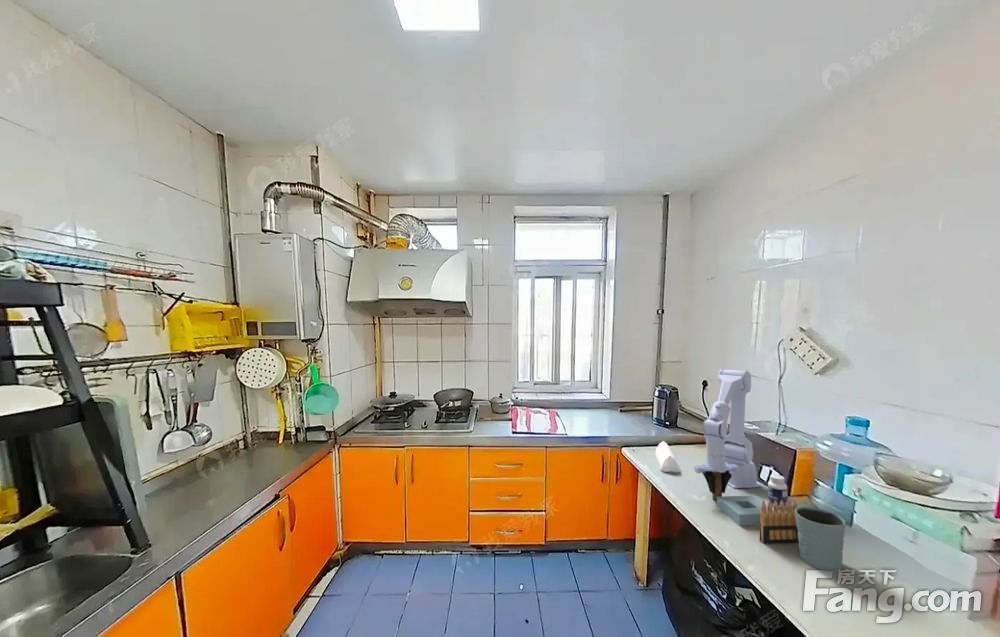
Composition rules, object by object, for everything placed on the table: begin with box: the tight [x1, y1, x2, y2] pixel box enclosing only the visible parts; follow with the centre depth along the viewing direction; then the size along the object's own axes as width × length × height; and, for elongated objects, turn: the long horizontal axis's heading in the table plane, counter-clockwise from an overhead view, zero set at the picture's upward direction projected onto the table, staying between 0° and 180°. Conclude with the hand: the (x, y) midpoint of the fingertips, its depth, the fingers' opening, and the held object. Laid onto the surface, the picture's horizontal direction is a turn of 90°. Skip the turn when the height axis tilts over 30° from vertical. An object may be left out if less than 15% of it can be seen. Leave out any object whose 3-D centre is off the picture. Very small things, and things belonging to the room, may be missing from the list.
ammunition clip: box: [759, 499, 799, 545], centre depth 109 cm, size 11×2×12 cm, turn 89°
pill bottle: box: [767, 473, 789, 509], centre depth 130 cm, size 5×5×10 cm
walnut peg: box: [711, 472, 723, 502], centre depth 135 cm, size 3×3×10 cm
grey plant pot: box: [795, 506, 846, 572], centre depth 100 cm, size 10×10×12 cm
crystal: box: [655, 440, 681, 474], centre depth 170 cm, size 7×7×24 cm
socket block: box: [716, 494, 774, 527], centre depth 124 cm, size 12×12×4 cm
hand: (717, 492), depth 135 cm, fingers closed on walnut peg, 3 cm apart
